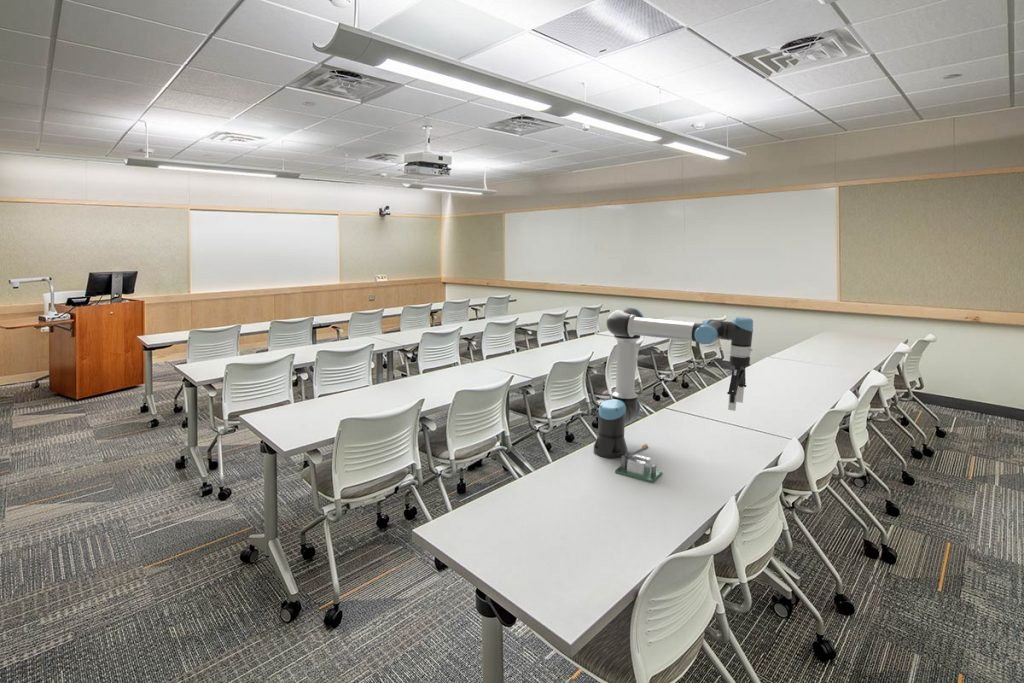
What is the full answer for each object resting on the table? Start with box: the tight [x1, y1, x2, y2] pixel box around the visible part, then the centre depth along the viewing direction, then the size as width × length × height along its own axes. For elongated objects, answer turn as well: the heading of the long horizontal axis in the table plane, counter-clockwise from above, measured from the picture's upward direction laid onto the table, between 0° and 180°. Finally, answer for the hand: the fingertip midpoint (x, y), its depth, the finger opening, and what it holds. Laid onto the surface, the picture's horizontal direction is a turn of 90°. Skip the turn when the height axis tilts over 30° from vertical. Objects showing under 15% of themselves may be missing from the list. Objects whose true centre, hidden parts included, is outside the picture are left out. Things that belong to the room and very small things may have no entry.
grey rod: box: [625, 443, 650, 458], centre depth 214 cm, size 12×2×2 cm
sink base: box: [614, 452, 663, 484], centre depth 214 cm, size 16×11×6 cm
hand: (735, 406), depth 215 cm, fingers open, 13 cm apart
